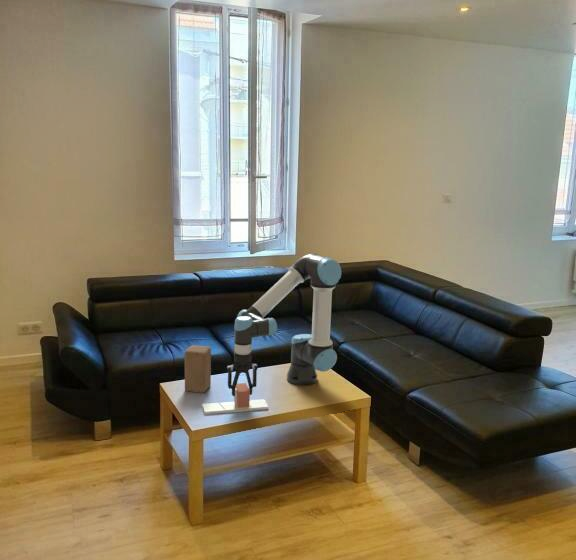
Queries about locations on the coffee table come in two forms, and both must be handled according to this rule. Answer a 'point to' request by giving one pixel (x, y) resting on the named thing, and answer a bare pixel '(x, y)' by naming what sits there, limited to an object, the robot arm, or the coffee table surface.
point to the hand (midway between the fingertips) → (241, 401)
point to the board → (233, 407)
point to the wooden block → (197, 368)
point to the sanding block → (242, 396)
